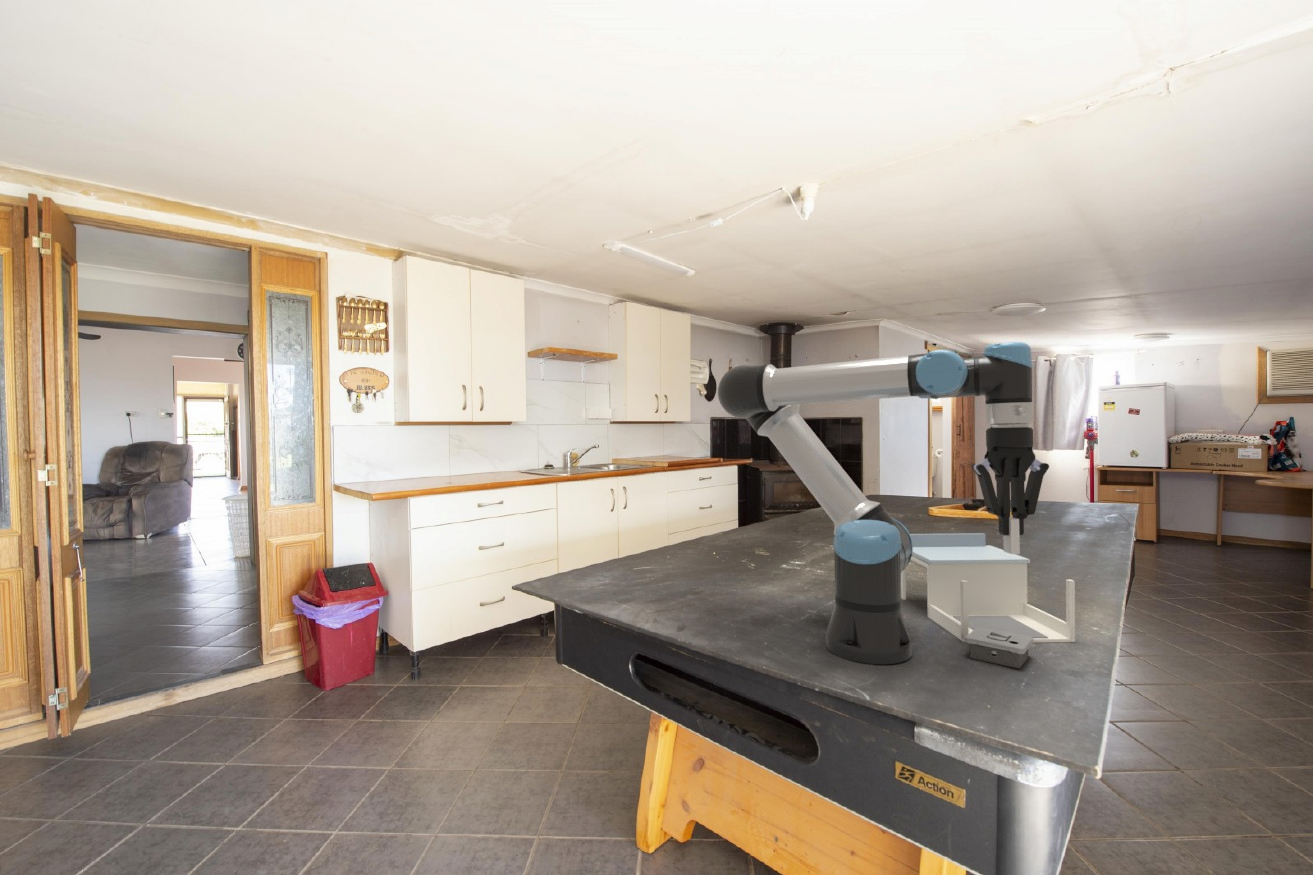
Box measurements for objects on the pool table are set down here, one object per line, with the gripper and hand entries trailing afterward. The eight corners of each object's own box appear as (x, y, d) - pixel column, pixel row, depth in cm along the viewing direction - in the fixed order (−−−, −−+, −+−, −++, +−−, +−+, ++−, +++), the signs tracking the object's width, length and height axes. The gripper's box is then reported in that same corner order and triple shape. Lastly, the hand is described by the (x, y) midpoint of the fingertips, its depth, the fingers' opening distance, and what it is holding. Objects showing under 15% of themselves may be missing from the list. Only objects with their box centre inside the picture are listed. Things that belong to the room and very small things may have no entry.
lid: (930, 563, 125) (930, 546, 125) (901, 549, 140) (901, 534, 140) (1029, 563, 124) (1029, 545, 124) (990, 548, 140) (990, 533, 140)
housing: (963, 642, 111) (963, 581, 111) (901, 598, 141) (901, 550, 140) (1075, 642, 111) (1074, 580, 111) (989, 598, 140) (989, 549, 140)
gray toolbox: (1025, 650, 97) (966, 628, 103) (1018, 679, 98) (960, 655, 104) (1036, 637, 104) (980, 618, 110) (1030, 664, 104) (974, 643, 111)
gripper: (982, 427, 103) (985, 557, 103) (1058, 425, 102) (1060, 556, 102) (963, 427, 111) (966, 548, 111) (1033, 425, 110) (1036, 548, 110)
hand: (1011, 552), depth 106 cm, fingers closed
